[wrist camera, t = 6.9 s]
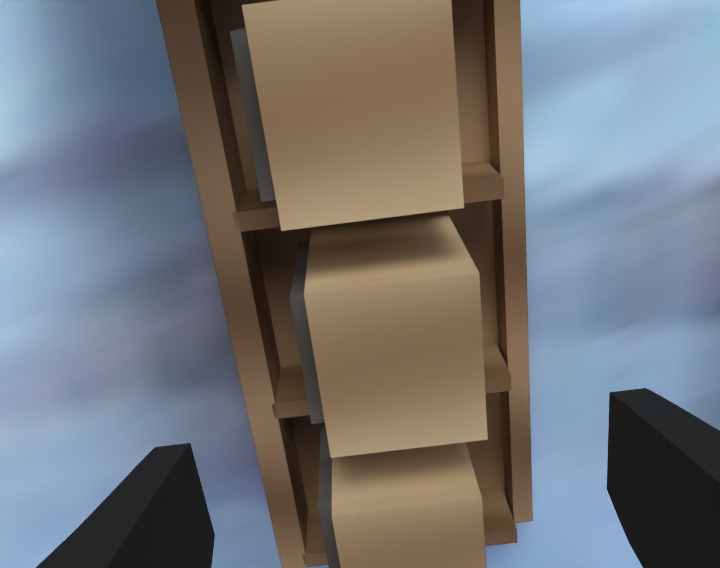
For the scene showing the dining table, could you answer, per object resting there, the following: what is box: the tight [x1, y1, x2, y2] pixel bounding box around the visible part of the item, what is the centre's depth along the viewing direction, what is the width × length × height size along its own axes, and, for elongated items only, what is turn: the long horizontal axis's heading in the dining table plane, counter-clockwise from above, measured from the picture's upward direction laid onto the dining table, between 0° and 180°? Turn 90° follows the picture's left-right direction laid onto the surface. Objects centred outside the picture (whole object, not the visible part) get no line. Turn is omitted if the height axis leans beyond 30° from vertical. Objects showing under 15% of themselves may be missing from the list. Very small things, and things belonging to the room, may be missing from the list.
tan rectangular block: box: [290, 210, 488, 458], centre depth 17 cm, size 4×4×6 cm
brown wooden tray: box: [156, 0, 533, 568], centre depth 17 cm, size 17×8×6 cm, turn 7°
